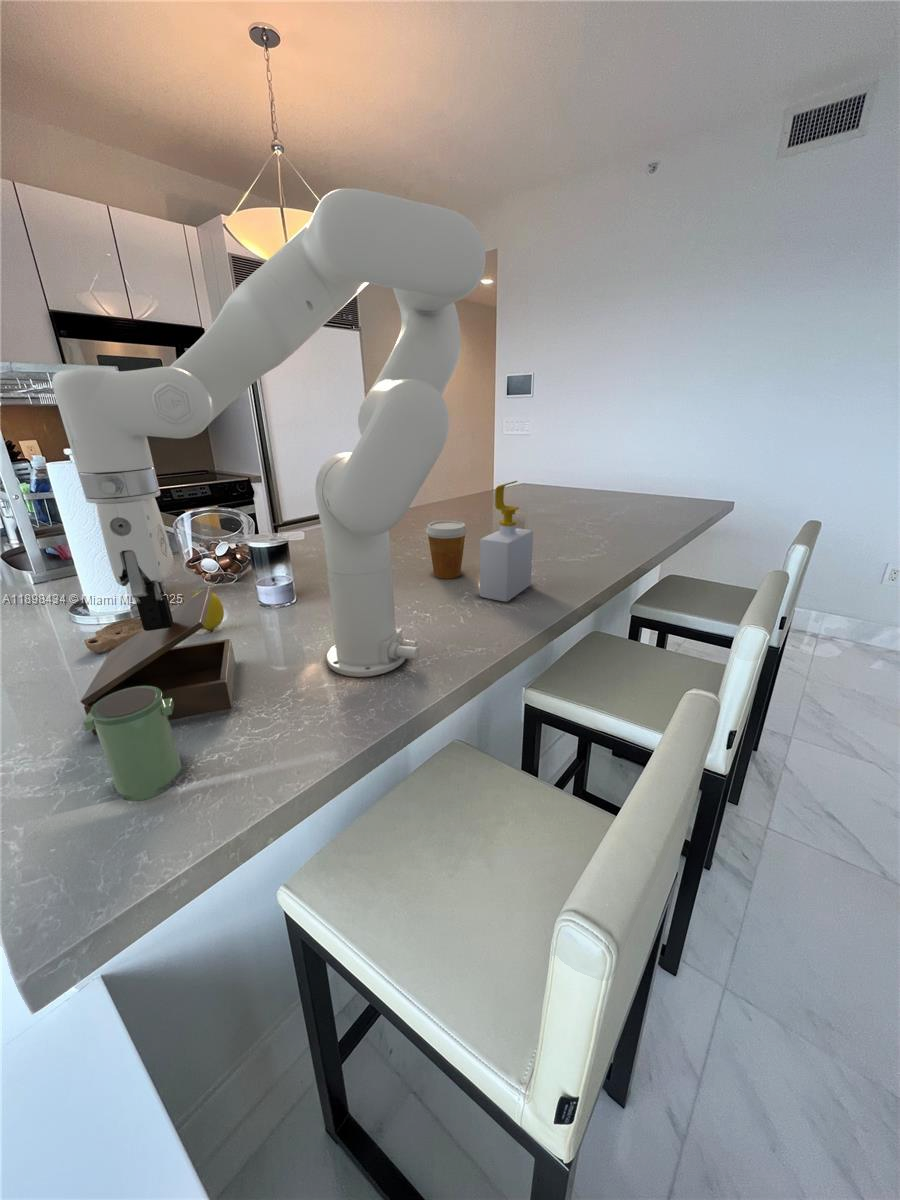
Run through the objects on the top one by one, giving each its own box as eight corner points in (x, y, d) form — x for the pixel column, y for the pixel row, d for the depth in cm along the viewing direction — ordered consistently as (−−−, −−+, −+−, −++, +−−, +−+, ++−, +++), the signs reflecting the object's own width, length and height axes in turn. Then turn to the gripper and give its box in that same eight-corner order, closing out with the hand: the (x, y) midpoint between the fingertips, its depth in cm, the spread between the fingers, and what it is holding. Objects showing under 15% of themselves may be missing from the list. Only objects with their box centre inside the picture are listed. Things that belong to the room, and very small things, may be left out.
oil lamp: (102, 663, 78) (93, 635, 76) (77, 653, 81) (68, 626, 79) (179, 632, 88) (172, 606, 87) (154, 624, 92) (147, 599, 90)
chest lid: (213, 590, 72) (209, 586, 71) (204, 626, 60) (200, 621, 59) (114, 655, 70) (109, 651, 70) (85, 706, 58) (79, 701, 58)
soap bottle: (506, 603, 99) (510, 486, 90) (478, 597, 102) (479, 483, 94) (531, 585, 108) (537, 478, 100) (504, 580, 112) (507, 476, 103)
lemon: (214, 639, 86) (205, 596, 83) (186, 636, 87) (177, 594, 84) (233, 626, 91) (225, 585, 88) (207, 624, 92) (198, 583, 89)
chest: (236, 665, 77) (230, 638, 75) (232, 713, 65) (225, 681, 63) (121, 685, 72) (112, 656, 70) (95, 740, 60) (83, 707, 58)
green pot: (192, 753, 57) (173, 679, 53) (185, 790, 52) (163, 710, 48) (117, 770, 55) (92, 693, 51) (102, 810, 49) (72, 727, 46)
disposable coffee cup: (422, 570, 119) (421, 522, 115) (459, 566, 122) (459, 519, 118) (433, 582, 111) (432, 531, 107) (472, 578, 114) (473, 527, 109)
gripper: (145, 492, 52) (183, 646, 59) (167, 475, 65) (196, 603, 72) (61, 498, 50) (111, 657, 57) (101, 479, 63) (138, 610, 70)
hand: (159, 626), depth 64 cm, fingers closed
